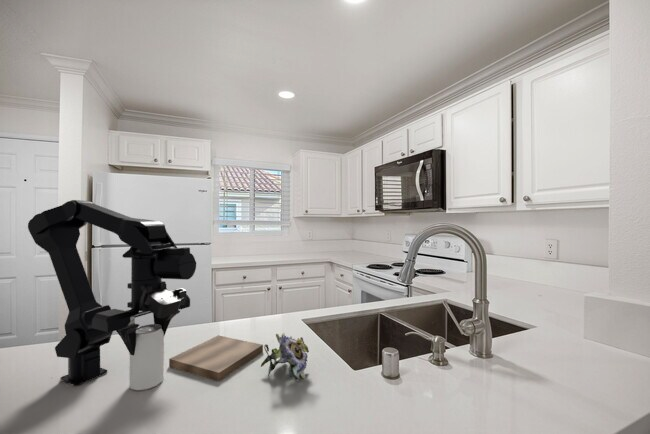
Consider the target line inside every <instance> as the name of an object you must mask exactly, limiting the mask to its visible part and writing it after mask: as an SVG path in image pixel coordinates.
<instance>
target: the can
mask: <svg viewBox="0 0 650 434" xmlns="http://www.w3.org/2000/svg"><path fill="white" fill-rule="evenodd" d="M161 328H162V326H161V325H159V324H154V323H151V324H144V325H139V327H138V328H137V330H136V347H135V353H134V355H131V354H130V353H129V388H130V389H131V390H133V391H136V392H143V391H148V390H151V389H154V388H155V387H157V386H159V385H160V384H161V383H162V381H164V377H165V376H164V375H165V336H164V332H163V330H162V329H161Z"/></svg>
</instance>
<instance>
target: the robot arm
mask: <svg viewBox="0 0 650 434" xmlns="http://www.w3.org/2000/svg"><path fill="white" fill-rule="evenodd" d="M87 224H91V225H93V226H95V227H98V228H101V229H103V230H105V231H109V232H111V233H113V234H116V236H118V238H119V240H120V241H121V242H122V243H124V244H126V245H127V246H129V247H130V248H129V249H128V250H126V251H125V252H124V253H123V254H122V257H123V258H124V259H125V258H126V259H127V258H129V259H130V258H131V263H130V264H131V268H130V269H131V270H130V271H131V275H130V277H131V282H129V283H127V289H130V291H131V292H130V293H131V295H130V296H131V299H130V301H129V302H127V307H126V308H130V309H127V310H124V309H123V310H122V309H117V308H111V306H110V305H109V304H106V305H102V304H100V303H98V302H97V300H96V297H95V294H94V292H93V289H92V287H91V284H90V280H89V279H88V276H87V273H86V269H85V267H84V264H83V261H82V259H81V256H80V253H79V250H78V247H77V245H78V241H79V239H80V236H81V231H80V229H83V227H85V226H86V225H87ZM27 229H28V232H29V234H30V235H31V238H32V239H33V242H34V243H35V244H36V245H37V246H39V247H40V248H41V249H42V250H44V251H45V252H47V254H48V255H49V257H50V261H51V263H52V266H53V269H54V272H55V274H56V277H57V280H58V283H59V287H60V289H61V291H62V294H63V298H64V301H65V303H66V306H67V309H68V315H67V317H66V319H65V322H64V332H65V335H64V337H63V338H61V340H60V341H59V342H58V343H57V344H56V346H54V351H55V354H56V357H57V358H66V359H67V362H68V363H67V374H65V375H63V376H61V377H60V380H59V381H62V382H64V383H66V384H69V385H72V386H74V387H75V386H77V387H78V386H79V385H81V384H85V383H86V382H89V381H91V380H93V379H95V378H98V377H100V376H103V375H105V374H107V373H108V369H106V368H102V367H101V346H103V345H105V344H108V343H110V342H111V338H112V336H113V332H117V334H118V335H119V337H120V338H121V340H122V342H123V344H124V345H125V348H126V349H127V351H128V353H129V355H130V354H131V355H134V353H135V347H136V330H137V328H138V327H140V324H139V323H135V322H136V321H135V320H136V318H138V317H142V316H146V315H148V314H152V316H153V324H159V325H161V326H162V328H161V329H162V330H163V332H164V337H165V335H166V333H167V330H168V327H169V325H170V322H171V321H172V319H173V318H174V317H175V316H176V315H178V314H179V313H180V312H181V310H183V309H186V308H187V309H188V308H190V307H191V298H190V296H189V295H188V294H187V290H186V289H185V288H184V287H180V288H176V289H173V290H168V288H167V283H166V281H163V279H165V280H191V278H193V276H194V275H195V273H196V269H197V261H196V258H195V256H194V254H193V253H191V248H190V247H187V246H186V247H180V248H179V247H177V245H176V243H175V242H174V241H173V239H172V237H171V236H170V234H169V233H168V231H167V228H166V225H165V224H164V223H163V222H161V221H159V220H153V219H145V218H134V217H131V216H128V215H125V214H123V213H120V212H117V211H115V210H111V209H109V208H106V207H104V206H101V205H98V204H96V203H94V202H92V201H90V200H79V199H78V200H77V199H76V200H75V199H72V200H69V201H66V202H64V203H63V204H62V205H59V206H55V207H52V208H50V209H47V210H44V211H41V213H37V214H35V215H33V217H32V218H31V219H29V221H28V223H27Z"/></svg>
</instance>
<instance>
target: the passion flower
mask: <svg viewBox="0 0 650 434" xmlns="http://www.w3.org/2000/svg"><path fill="white" fill-rule="evenodd" d="M275 337H276V339H277V342H278V344H279V347H278V348H276V347H275V348H271V354H269V351H270V348H269V345H268V344H264V345H263V350H264V351H265V353H266V354H267V356H266V358H265V359H264V360H263V361H262V362H261V365H260V367H263V366H265V364H267V363H268V362H269V368H268V371H267V373H268V374H267V377H269V376H270V374H271V372H272V371H273V370H275V369H276V366H277V365H278V364H281V365H282V364H286V363H288V365H289V366H290V367H289V372H288V374H289V376H290V378H292V379H294V380H295V381H298V382H300V379H301V380H304V379H305V378H306V374H305V370H306V369H307V366H308V363H307V362H308V353H309V352H310V350H309V346H308V345H307V344H306V343H305V341H304V338H303V337H302V336H301V337H300V338H299V337H297V339H296V338H293V336H287V335H285V332H283V333H282V334H281V336H280V334H278V333H275ZM273 361H274V362H273Z"/></svg>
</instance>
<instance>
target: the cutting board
mask: <svg viewBox="0 0 650 434" xmlns="http://www.w3.org/2000/svg"><path fill="white" fill-rule="evenodd" d="M263 352H264V345H263V344H261V343H257V342H251V341H247V340H242V339H237V338H233V337H227V336H222V335H219V334H218V335H216V336H213V337H212V338H210V339H208V340H207V339H206V341H204V342H203V341H202V342H201V343H199V344H197V345H195V346H193V347H192V348H188V349H187V350H184V351H183V352H181V353H178V354H176V355H174V356H172V357H171V358H169V359H168V367H169V368H171V369H174V370H178V371H180V372H181V371H182V372H183V373H184V372H185V373H188V374H192V375H194V376H198V377H201V378H205V379H208V380H212V381H215V382H220V381H222V380H224V379H225V378H226V377H229V376H230V375H232V374H233V373H234V372H236V371H237V370H239V369H240V368H242V367H243V366H244V365H246V364H248V363H249V362H250V361H252V360H254V359H255V358H257V357H258V356H259V355H261V354H262V353H263Z"/></svg>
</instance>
